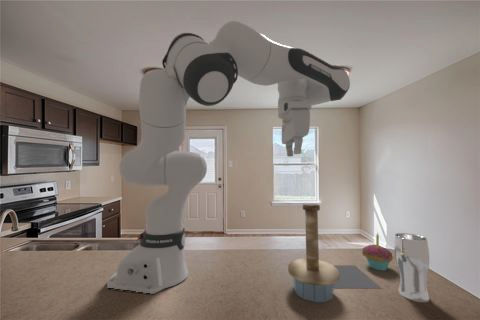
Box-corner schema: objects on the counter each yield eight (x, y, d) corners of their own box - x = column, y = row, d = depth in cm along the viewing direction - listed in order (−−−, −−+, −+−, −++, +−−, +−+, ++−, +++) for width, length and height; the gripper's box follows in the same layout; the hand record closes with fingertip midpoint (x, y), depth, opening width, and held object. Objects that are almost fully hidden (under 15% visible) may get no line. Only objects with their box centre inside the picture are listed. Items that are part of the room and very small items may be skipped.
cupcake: (397, 275, 64) (395, 235, 65) (366, 271, 67) (364, 233, 68) (388, 264, 73) (386, 228, 73) (360, 260, 75) (358, 226, 76)
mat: (330, 289, 57) (330, 288, 57) (313, 266, 71) (313, 265, 71) (382, 289, 57) (382, 288, 57) (354, 266, 71) (354, 265, 71)
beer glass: (439, 306, 50) (435, 241, 51) (405, 302, 51) (402, 240, 52) (420, 290, 57) (417, 233, 57) (391, 287, 58) (388, 232, 59)
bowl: (299, 303, 51) (299, 282, 52) (290, 281, 61) (290, 264, 62) (340, 303, 51) (339, 282, 52) (324, 281, 61) (324, 264, 61)
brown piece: (294, 285, 50) (292, 209, 51) (283, 262, 63) (282, 201, 64) (349, 285, 50) (346, 209, 51) (327, 262, 63) (325, 201, 64)
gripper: (277, 119, 75) (277, 157, 75) (289, 100, 55) (290, 152, 54) (294, 119, 75) (295, 157, 75) (313, 99, 55) (315, 152, 54)
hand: (293, 155), depth 64 cm, fingers open, 8 cm apart
